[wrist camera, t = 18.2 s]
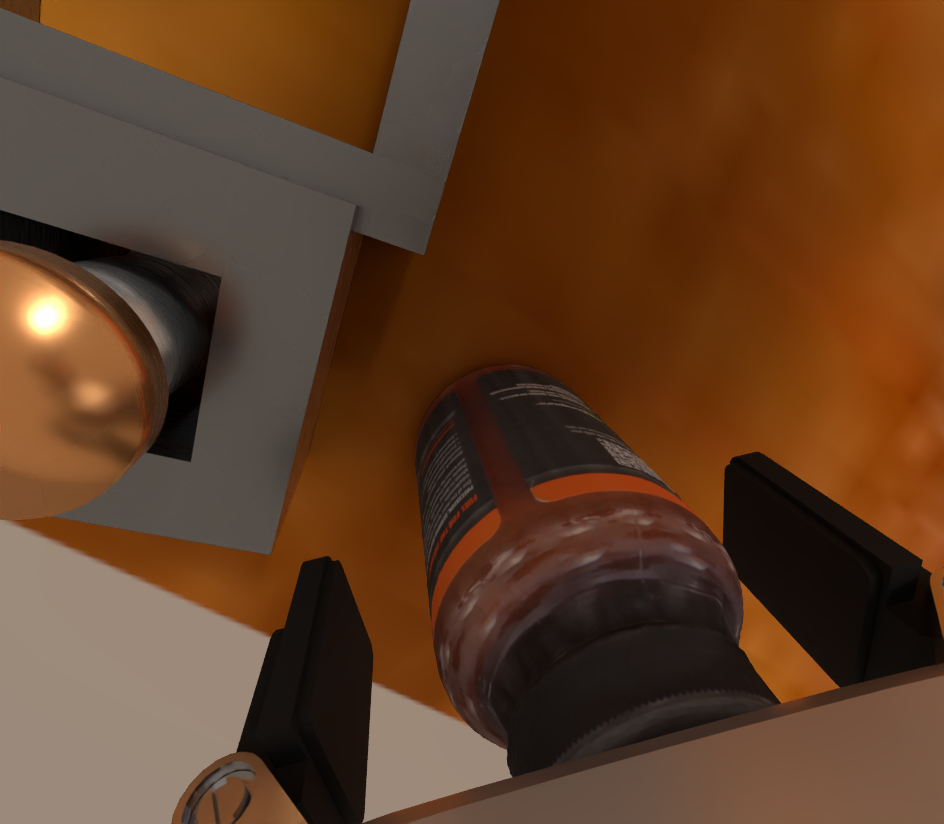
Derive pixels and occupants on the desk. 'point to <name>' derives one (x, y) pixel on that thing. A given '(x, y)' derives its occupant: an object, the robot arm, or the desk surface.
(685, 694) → the supplement bottle
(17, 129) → the housing
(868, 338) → the desk surface
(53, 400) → the plunger
